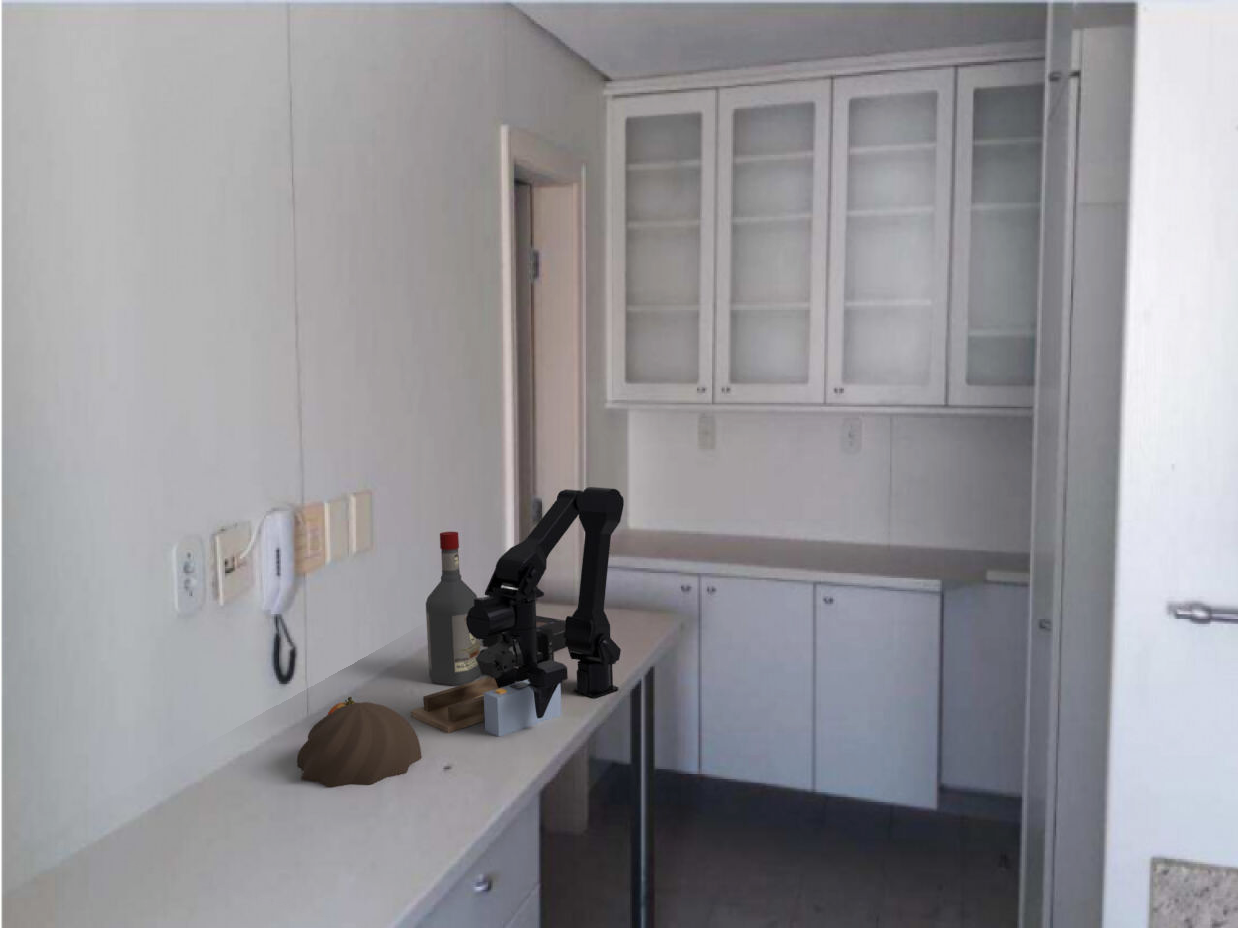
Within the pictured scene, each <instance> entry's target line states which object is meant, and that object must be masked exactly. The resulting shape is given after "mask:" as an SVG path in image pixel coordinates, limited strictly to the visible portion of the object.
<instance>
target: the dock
mask: <svg viewBox="0 0 1238 928" xmlns="http://www.w3.org/2000/svg"><path fill="white" fill-rule="evenodd" d="M495 689H498V686H497V683H496V681H495V679H494V678H491V677H490V676H488V677H485V678H482V679H478V680H477V679H476V680H474V681H472V682H470V683H467V684H464V685H459V686H453V687H451V688H447V689H443V690H440V691H437V692H434V693H431V694H427V695H424V696H423V699H422V701H423V707H419V708H416V709H412V710H410V717H412V718H414V719H416V720H419V721H421V722H422V723H426V724H427V725H430V726H432V727H434V728H436V729H439V730H441V731H443V732H445V733H447V734H448V733H449V734H450V733H452V732H456V731H458V730H461V729H465V728H467V727H470V726H473V725H476V724H480V723H483V722H485V713H484V693H485V692H488V691H491V690H495Z"/></svg>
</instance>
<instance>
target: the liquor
mask: <svg viewBox="0 0 1238 928" xmlns="http://www.w3.org/2000/svg"><path fill="white" fill-rule="evenodd" d="M459 539H460V538H459V532H458V531H443V532H440V533H439V547H440V550H441V551H440V552H441V553H440V554H441V577H440V581H439V582H438V584H437V585H436V586H435V587H434V589H433V590H432V591H431V592H430V594H429V595H428V596H427V599H426V602H425V614H426V615H425V617H426V620H425V621H426V637H427V638H426V639H427V653H428V655H427V656H428V659H427V661H428V675H429V678H430V679H431V682H432V683H434V684H435V685H444V686H452V687H457V686H460V685H464V684H467V683H471V682H474V681H476V680H477V679H479V678H480V677H481V675H482V674H481V671H480V668H479V666H478V663H477V661H476V657H477V656H478V655H479V653H480V652H481V650H482V648H481V647H482V646H481V645H482V643H481V639H480V640H479V639H476V638H474V637H473V636H472V635H471V633H470V632H469V630H468V628H467V624H466V617H467V614H468V611H469V610H470V608H472V607H473V606H474V599H476V598H478V596H477V594H476V592H474V591H473V590H472V589H471V588H470V586H468V585H467V583H465V582H464V581H463V580H462V575H461V572H460V560H459V559H460V558H459V557H460V556H459V548H460V543H459V542H460V541H459Z"/></svg>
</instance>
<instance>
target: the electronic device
mask: <svg viewBox="0 0 1238 928" xmlns="http://www.w3.org/2000/svg"><path fill="white" fill-rule="evenodd" d="M537 629H538V630H542V636H540V637H537V651H538V652H541V653H543V659H540V660H537V662H536V663H542V662H545V661H548V660H553V661H555V652H554V645H553V631H552V630H551V629H550V628H537ZM524 680H528V678H527V672H526V671H523V670H520V669H517V672H516V678H515V682H521V681H524Z"/></svg>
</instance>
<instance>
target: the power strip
mask: <svg viewBox="0 0 1238 928" xmlns="http://www.w3.org/2000/svg"><path fill="white" fill-rule="evenodd" d="M529 683H530V682H529V680H524V681H517V682H515V683H514V684H511V685H508V686H505V687H501V688H498V689H495V690H491V691H488V692H485V693H484V713H485V721H484V729H485V730H484V731H485V732H486V733H489V734H491V735H494V736H496V737H500V738H501V737H503V736H505V735H509V734H512V733H515V732H517V731H521V730H523V729H526V728H529V727H532V726H535V725H538V724H540V723H543V722H546V721H549V720H551V719H554V718H559V717H560V716H562V692H561V686H562V685H561V683H560V684H558V686H557V688H556V690H555V692H554V694H553V695H552V698H551V700H550V702H549V704H548V707H547V709H546V711H545V714H544V716H543V717H542V718H539V719H538V718H537V715H536V710H535V700H534V692H533V690H532V689H531V688H530V687H529V686H528V685H527V684H529Z"/></svg>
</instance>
